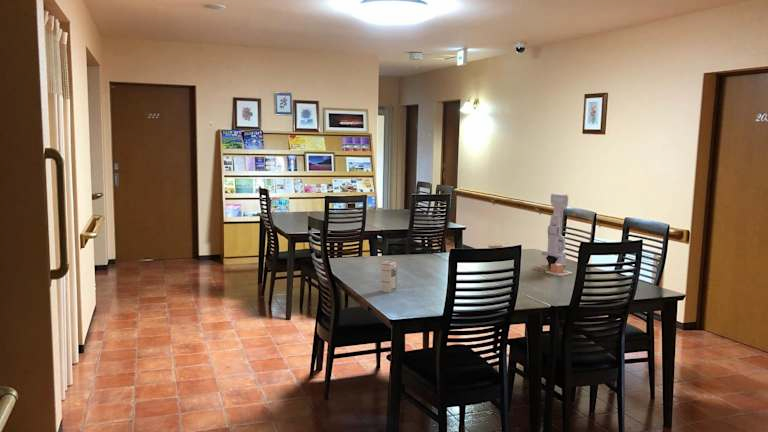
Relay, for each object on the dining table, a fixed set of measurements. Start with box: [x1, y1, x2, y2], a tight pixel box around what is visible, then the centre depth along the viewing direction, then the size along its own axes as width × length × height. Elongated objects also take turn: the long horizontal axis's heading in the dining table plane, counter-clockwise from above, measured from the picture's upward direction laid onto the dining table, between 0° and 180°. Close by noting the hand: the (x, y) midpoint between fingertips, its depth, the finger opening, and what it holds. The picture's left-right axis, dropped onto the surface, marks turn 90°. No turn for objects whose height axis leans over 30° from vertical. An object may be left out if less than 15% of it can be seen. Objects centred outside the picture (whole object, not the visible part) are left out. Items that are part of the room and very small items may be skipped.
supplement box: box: [487, 243, 504, 249], centre depth 376 cm, size 8×5×13 cm, turn 84°
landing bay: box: [545, 269, 574, 277], centre depth 362 cm, size 11×10×1 cm
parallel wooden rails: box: [532, 264, 551, 273], centre depth 370 cm, size 8×11×2 cm
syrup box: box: [380, 260, 398, 293], centre depth 308 cm, size 6×6×14 cm
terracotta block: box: [549, 263, 564, 274], centre depth 363 cm, size 5×5×5 cm
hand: (551, 268), depth 366 cm, fingers closed
